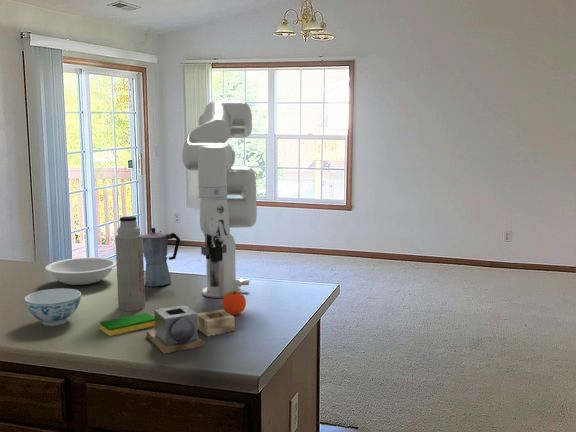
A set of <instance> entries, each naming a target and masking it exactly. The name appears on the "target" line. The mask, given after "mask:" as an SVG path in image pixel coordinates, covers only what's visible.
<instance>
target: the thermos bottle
mask: <svg viewBox="0 0 576 432" xmlns="http://www.w3.org/2000/svg"><path fill="white" fill-rule="evenodd" d="M119 221H120V222H119V223H120V224H119V227H117V230H116V232H117V234H116V235H115V257H116V258H115V261H116V263H117V265H116V277H117V280H116V281H117V302H118V304H117V305H118V309H119V310H121V311H125V312H126V311H131V312H132V311H138V310H142V309H145V307H146V294H145V292H146V291H145V290H146V289H145V269H144V268H145V265H144V253H143V236H142V235H143V234H142V233H141V227H139V226H138V225H137V224H138V223H137V217H136V216H121V217H119Z"/></svg>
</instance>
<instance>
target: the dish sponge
mask: <svg viewBox="0 0 576 432" xmlns="http://www.w3.org/2000/svg"><path fill="white" fill-rule="evenodd" d="M147 327H148V328H152V327H155V316H154V315H151V314H149V313H148V312H142V313H138V314H135V315H134V314H133V315H129V316H124V317H119V318H114V319H113V318H112V319H109V320H105V321H100V322H99V330H101V332H103V333H104V334H106V335H108V336H109V337H110V336H112V337H113V336H115V335H120V334H124V333H128V332H134V331H138V330H139V331H140V330H143V329H146V328H147ZM148 328H147V329H148Z"/></svg>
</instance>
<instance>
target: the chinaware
mask: <svg viewBox="0 0 576 432" xmlns="http://www.w3.org/2000/svg"><path fill="white" fill-rule="evenodd" d="M81 299H82V293H81V291H79V290H78V289H74V288H52V289H51V288H50V289H43V290H37V291H34V292H32V293H30V294H27V295H26V296H25V297H24V303H25V306H26V308H27V310H28V312H29V313H30V314H31V316H32V317H34V318H36V320H39V321H41V324H42V325H44V326H49V327H51V326H58V325H59V326H60V325H63V324H65V323H67V322H68V319H69V318H70V317H72V315H73V314H74V313H75V312H76V310H77V309H78V307H79V305H80V302H81Z"/></svg>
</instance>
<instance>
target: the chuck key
mask: <svg viewBox="0 0 576 432" xmlns="http://www.w3.org/2000/svg"><path fill="white" fill-rule="evenodd" d="M211 247H212V245H206V244H205V245H201V246H200V249H201V251H200V253H201V255H203V256H205V257H206V255H209V266H210V286H211V287H217V286H220V282H219V261H217V262H211ZM222 253H227V248H226V244H224V243H223V247H222Z"/></svg>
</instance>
